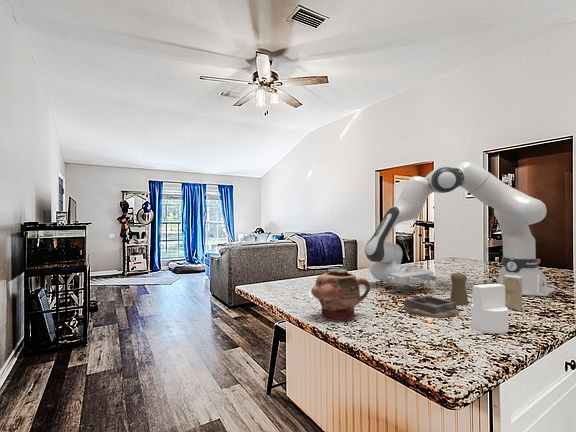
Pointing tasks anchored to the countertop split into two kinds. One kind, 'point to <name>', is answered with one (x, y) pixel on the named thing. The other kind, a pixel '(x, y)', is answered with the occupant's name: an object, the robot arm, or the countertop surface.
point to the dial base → (431, 307)
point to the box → (513, 291)
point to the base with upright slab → (489, 309)
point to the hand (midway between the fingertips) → (428, 279)
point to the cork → (459, 289)
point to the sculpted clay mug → (339, 294)
